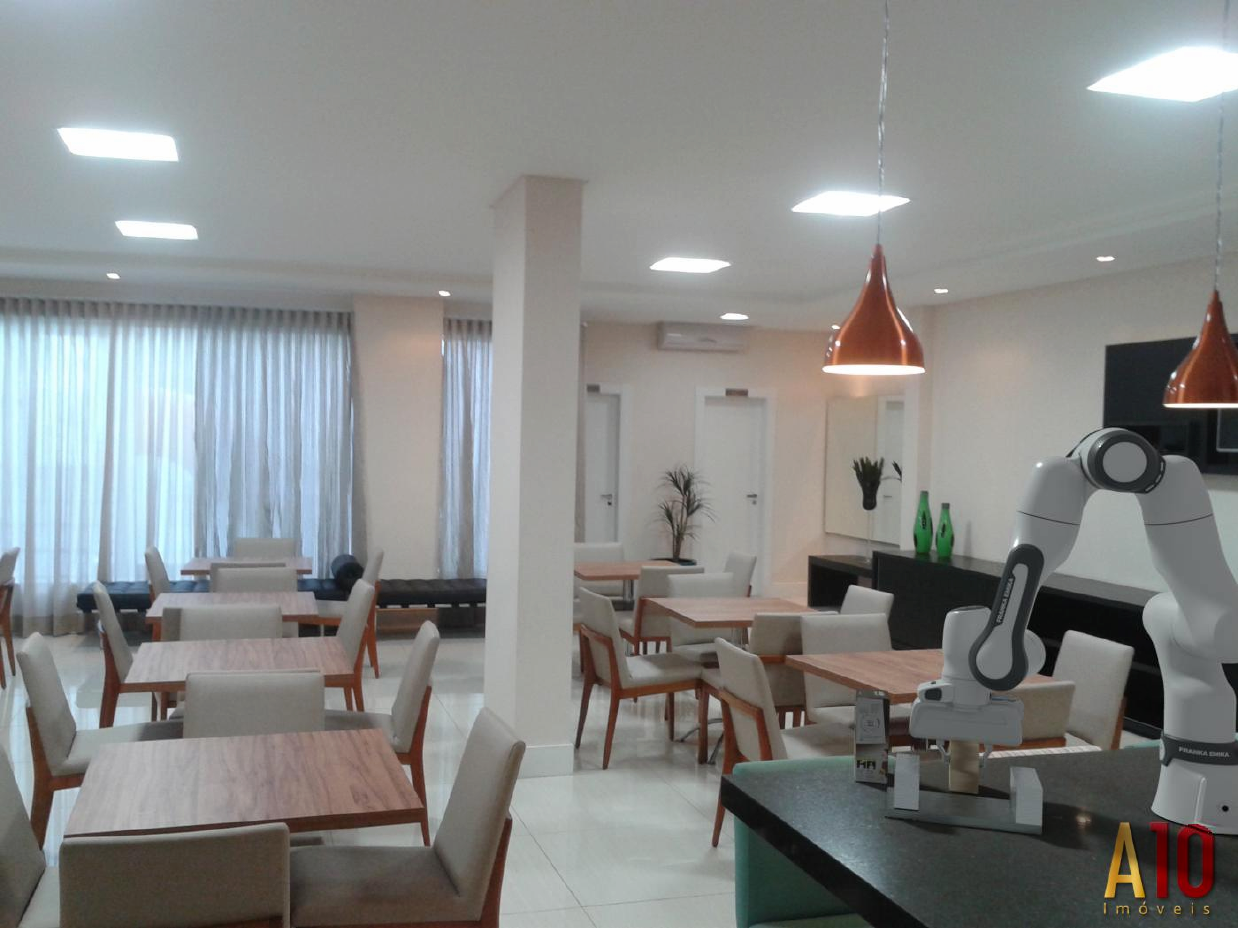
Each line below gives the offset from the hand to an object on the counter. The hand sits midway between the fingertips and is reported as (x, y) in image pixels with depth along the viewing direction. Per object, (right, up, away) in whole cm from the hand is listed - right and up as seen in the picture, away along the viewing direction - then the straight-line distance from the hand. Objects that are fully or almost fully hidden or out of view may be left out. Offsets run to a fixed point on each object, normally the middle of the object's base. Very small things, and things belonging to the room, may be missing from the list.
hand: (963, 764), depth 200 cm
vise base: (-6, -4, -16) cm, 18 cm away
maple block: (0, -4, 0) cm, 4 cm away
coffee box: (-16, -4, +6) cm, 18 cm away
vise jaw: (-14, -2, -14) cm, 20 cm away
